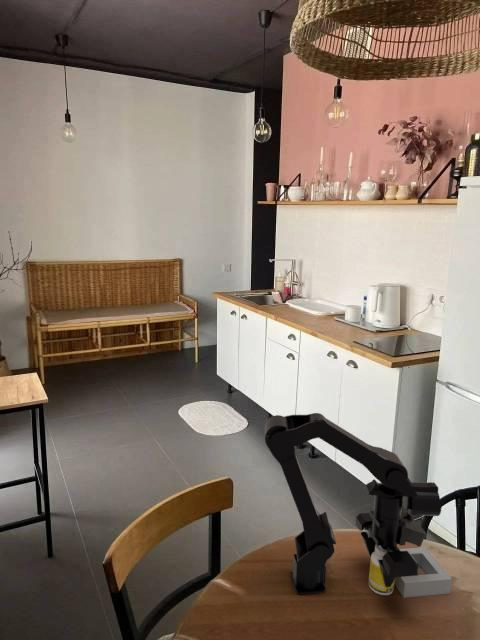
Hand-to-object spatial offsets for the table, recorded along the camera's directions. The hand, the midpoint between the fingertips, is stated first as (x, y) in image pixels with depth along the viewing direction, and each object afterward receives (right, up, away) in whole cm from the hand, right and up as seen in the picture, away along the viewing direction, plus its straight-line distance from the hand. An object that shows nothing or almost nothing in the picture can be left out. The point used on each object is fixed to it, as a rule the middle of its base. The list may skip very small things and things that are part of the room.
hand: (381, 577), depth 103 cm
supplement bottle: (0, -3, 0) cm, 3 cm away
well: (+9, -2, +4) cm, 10 cm away
